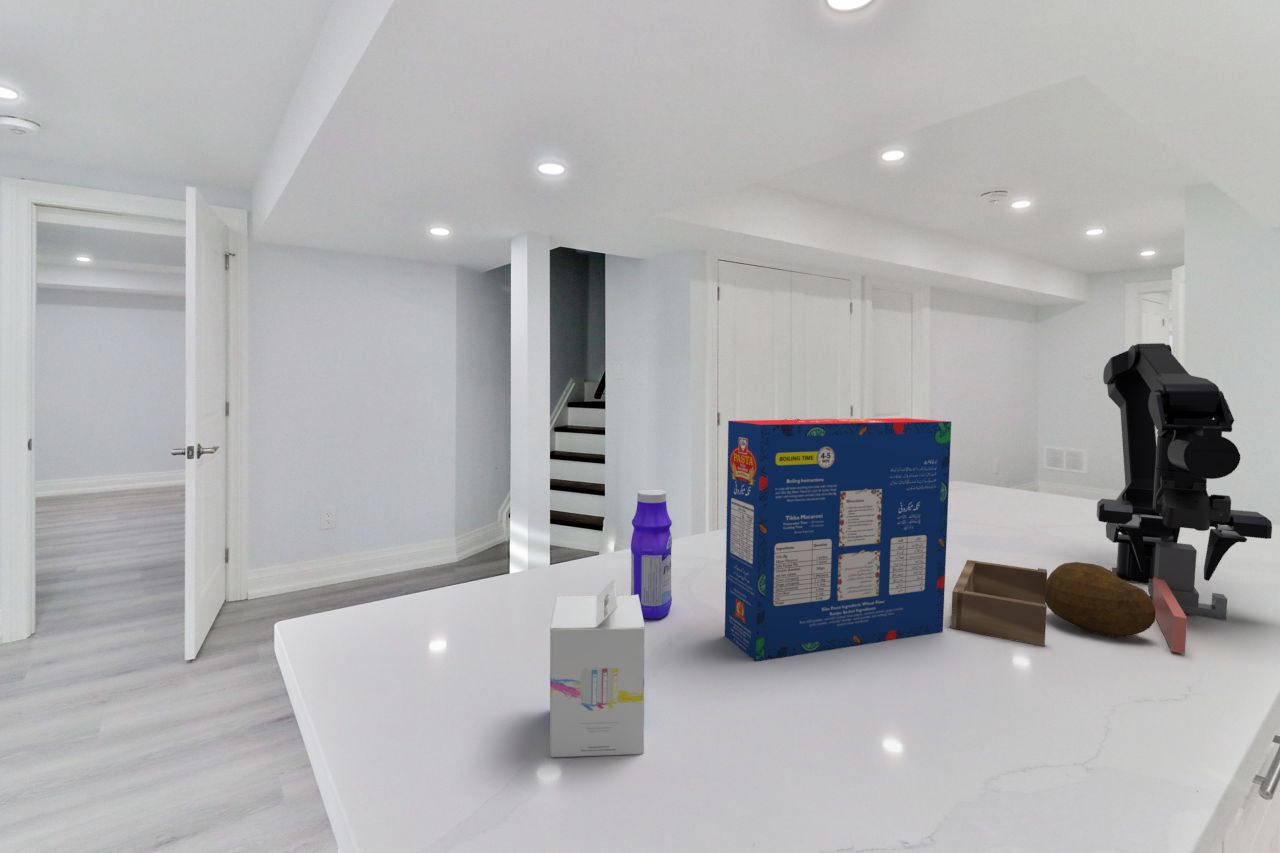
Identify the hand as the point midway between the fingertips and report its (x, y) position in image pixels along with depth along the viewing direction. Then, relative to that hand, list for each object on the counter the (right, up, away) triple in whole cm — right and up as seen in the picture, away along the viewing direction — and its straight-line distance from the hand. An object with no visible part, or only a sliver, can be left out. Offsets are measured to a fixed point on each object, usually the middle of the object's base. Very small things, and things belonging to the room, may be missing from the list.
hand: (1173, 575), depth 91 cm
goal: (-26, -5, -3) cm, 27 cm away
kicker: (-5, -5, -7) cm, 10 cm away
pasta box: (-52, -6, -10) cm, 54 cm away
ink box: (-82, -7, -33) cm, 89 cm away
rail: (-5, -5, +3) cm, 7 cm away
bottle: (-76, -5, -2) cm, 77 cm away
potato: (-18, -6, -7) cm, 20 cm away
